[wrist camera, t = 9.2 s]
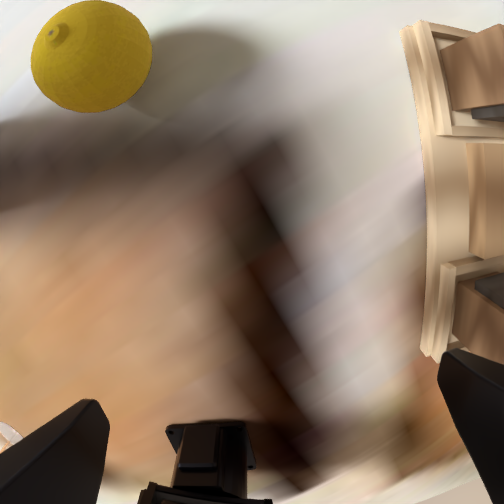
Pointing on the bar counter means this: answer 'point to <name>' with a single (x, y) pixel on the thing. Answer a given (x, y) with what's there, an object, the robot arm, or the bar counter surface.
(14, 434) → the wineglass
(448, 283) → the rail
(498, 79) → the beige cardboard cube
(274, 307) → the bar counter surface
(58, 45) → the lemon
